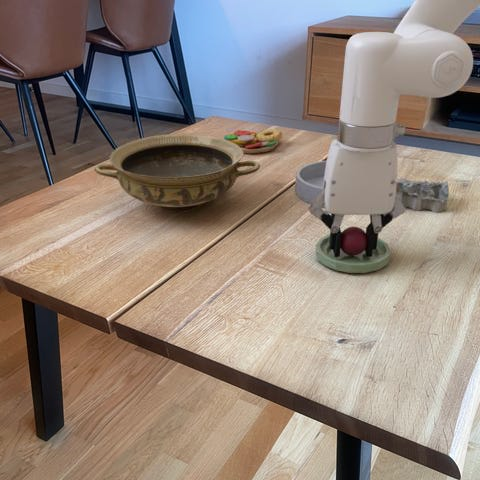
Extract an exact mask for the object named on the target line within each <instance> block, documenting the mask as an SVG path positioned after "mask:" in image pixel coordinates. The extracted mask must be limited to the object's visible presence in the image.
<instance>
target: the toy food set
mask: <svg viewBox="0 0 480 480" xmlns="http://www.w3.org/2000/svg"><path fill="white" fill-rule="evenodd" d="M223 139H224V140H227V141H230V142H232V143H234V144H236V145H238V146H239V147H240V148H241V149H242V151H243V154H261V152H262V153H266V152H269V151H272V150H273V149H275V147H276V146H277V145H278V144H279V141H281V140H282V139H283V132H282V130H280V129H277V128H269V129H265V130H262V131H259V132H258V133H256V132H254V131H249V130H242V129H240V130H239V129H238V130H236V131H234V132H232V133H230V134H226V135H224V136H223Z"/></svg>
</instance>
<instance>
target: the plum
mask: <svg viewBox="0 0 480 480" xmlns="http://www.w3.org/2000/svg"><path fill="white" fill-rule="evenodd" d="M341 232H342V239H341V248H340V249H341V250H342V251H343V252H344V253H345V254H347V255H352V256H354V255H358V254H360V253H362V252H363V251H364V250H365V249H366V247H367V243H368V238H367V235H366V231H365V230H363V228H361V227H359V226H349V227H347V228H345V229H344V230H342V231H341Z"/></svg>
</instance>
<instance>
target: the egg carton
mask: <svg viewBox="0 0 480 480" xmlns="http://www.w3.org/2000/svg"><path fill="white" fill-rule="evenodd" d="M396 194H397V195H398V197H399V199H400V201H401V202H402V204H403V206H404V207H405V208H410V209H412V210H413V211H421V210H430V211H431V212H433V213H439V212H441V211H445V210H446V208H447V203H448V201H449V200H450V187H449V182H448V181H442V182H440V181H438V182H434V181H430V182H428V181H427V180H422V181H419V180H413V181H412V180H409V179H406V178H397V185H396Z"/></svg>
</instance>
